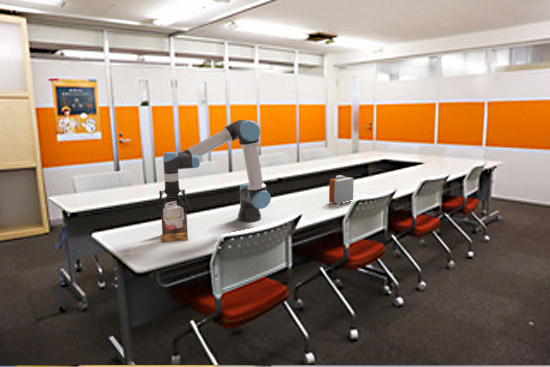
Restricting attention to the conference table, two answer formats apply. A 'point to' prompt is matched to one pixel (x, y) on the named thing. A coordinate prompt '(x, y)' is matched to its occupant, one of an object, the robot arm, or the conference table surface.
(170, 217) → the ink cartridge box
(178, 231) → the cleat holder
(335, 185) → the grey and orange case
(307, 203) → the conference table surface
